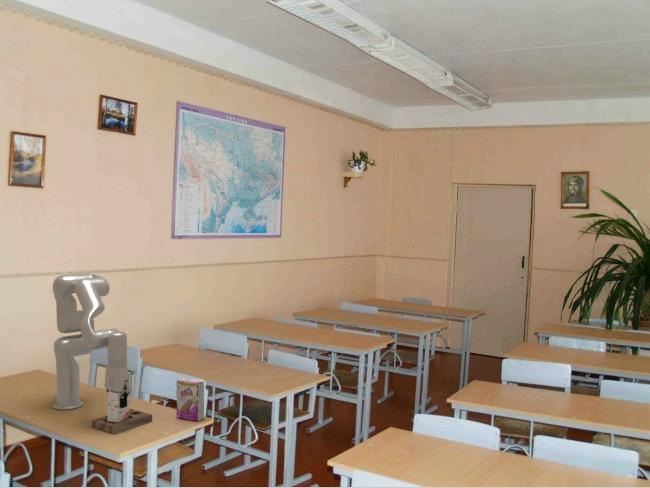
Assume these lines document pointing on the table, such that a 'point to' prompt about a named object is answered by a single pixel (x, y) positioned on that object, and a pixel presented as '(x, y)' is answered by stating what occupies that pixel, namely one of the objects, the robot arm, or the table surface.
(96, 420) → the socket holder
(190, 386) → the candy bar box
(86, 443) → the table surface
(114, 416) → the ink cartridge box
